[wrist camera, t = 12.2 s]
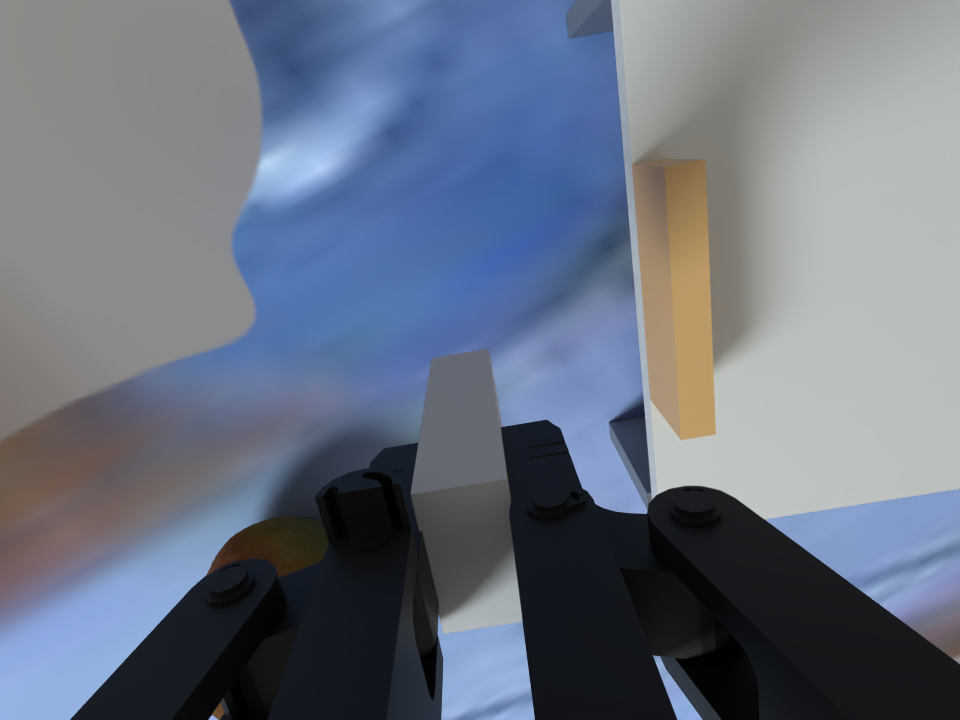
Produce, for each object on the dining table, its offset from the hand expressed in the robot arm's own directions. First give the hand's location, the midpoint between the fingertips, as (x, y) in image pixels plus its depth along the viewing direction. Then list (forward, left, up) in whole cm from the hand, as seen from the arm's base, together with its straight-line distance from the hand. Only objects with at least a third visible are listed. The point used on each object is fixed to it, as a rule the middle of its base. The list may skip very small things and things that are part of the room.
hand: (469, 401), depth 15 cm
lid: (0, +15, -8) cm, 17 cm away
